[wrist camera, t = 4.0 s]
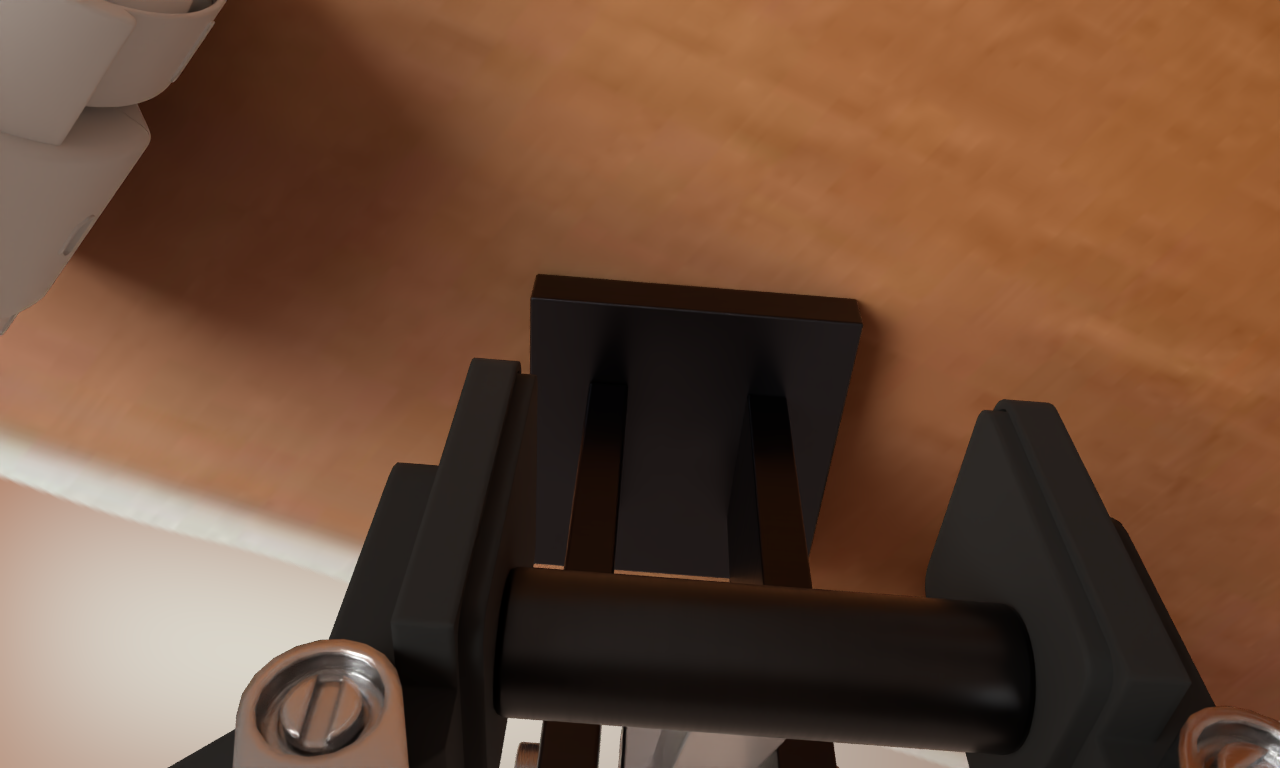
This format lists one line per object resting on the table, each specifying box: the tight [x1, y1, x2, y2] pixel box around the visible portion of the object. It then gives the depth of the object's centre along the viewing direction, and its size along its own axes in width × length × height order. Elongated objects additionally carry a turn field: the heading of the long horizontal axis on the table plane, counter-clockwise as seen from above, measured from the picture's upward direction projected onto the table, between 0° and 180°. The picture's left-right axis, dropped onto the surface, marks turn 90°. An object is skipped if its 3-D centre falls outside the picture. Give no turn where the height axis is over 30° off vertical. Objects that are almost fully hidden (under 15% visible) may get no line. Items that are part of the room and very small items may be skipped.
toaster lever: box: [493, 566, 1035, 768], centre depth 15 cm, size 12×5×2 cm, turn 176°
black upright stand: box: [514, 274, 863, 768], centre depth 22 cm, size 9×8×13 cm
